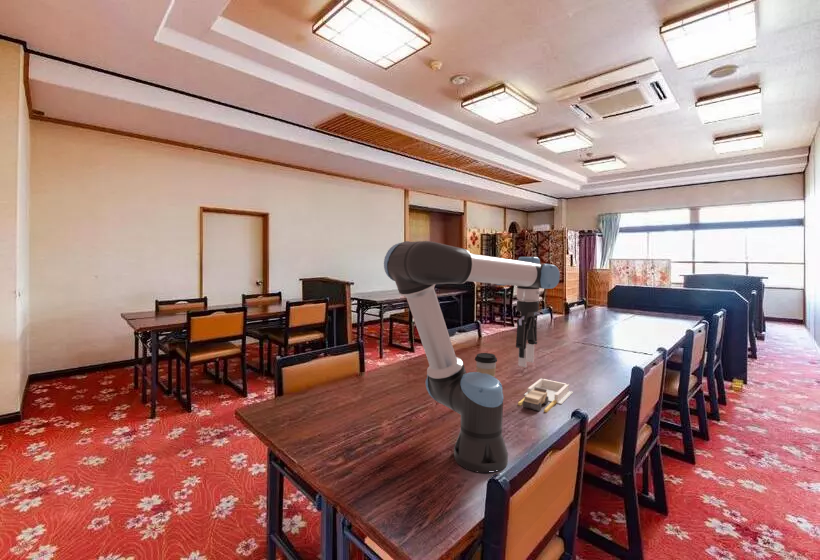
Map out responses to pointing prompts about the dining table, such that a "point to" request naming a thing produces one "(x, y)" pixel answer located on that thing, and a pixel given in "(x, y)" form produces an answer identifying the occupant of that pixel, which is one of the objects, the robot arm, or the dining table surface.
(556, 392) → the dock
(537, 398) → the two-tone toy block
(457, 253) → the robot arm
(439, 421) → the dining table surface
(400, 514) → the dining table surface
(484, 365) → the coffee cup
